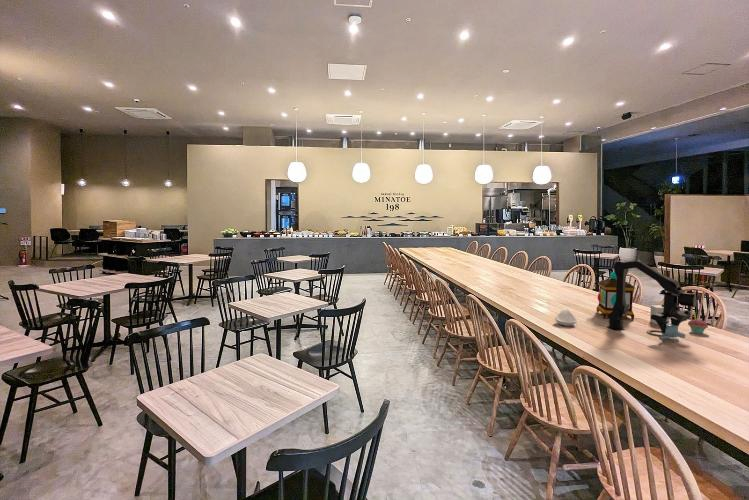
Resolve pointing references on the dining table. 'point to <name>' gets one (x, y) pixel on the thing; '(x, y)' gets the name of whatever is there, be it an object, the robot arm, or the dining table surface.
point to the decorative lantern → (613, 296)
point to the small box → (656, 312)
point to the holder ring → (653, 333)
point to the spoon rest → (566, 318)
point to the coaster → (669, 339)
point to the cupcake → (697, 325)
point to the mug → (673, 331)
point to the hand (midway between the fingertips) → (668, 332)
